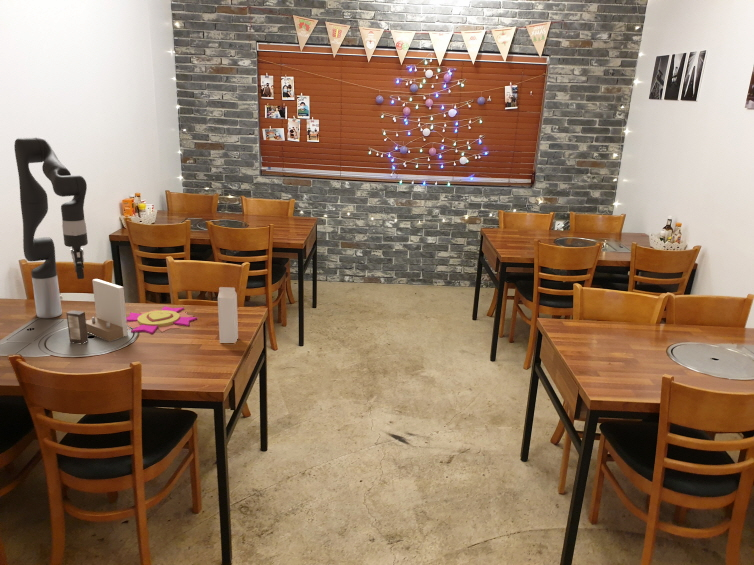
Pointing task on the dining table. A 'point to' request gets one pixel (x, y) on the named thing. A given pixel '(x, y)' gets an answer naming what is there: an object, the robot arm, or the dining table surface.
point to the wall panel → (108, 311)
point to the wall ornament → (159, 320)
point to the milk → (227, 315)
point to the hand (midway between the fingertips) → (79, 275)
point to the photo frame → (77, 326)
